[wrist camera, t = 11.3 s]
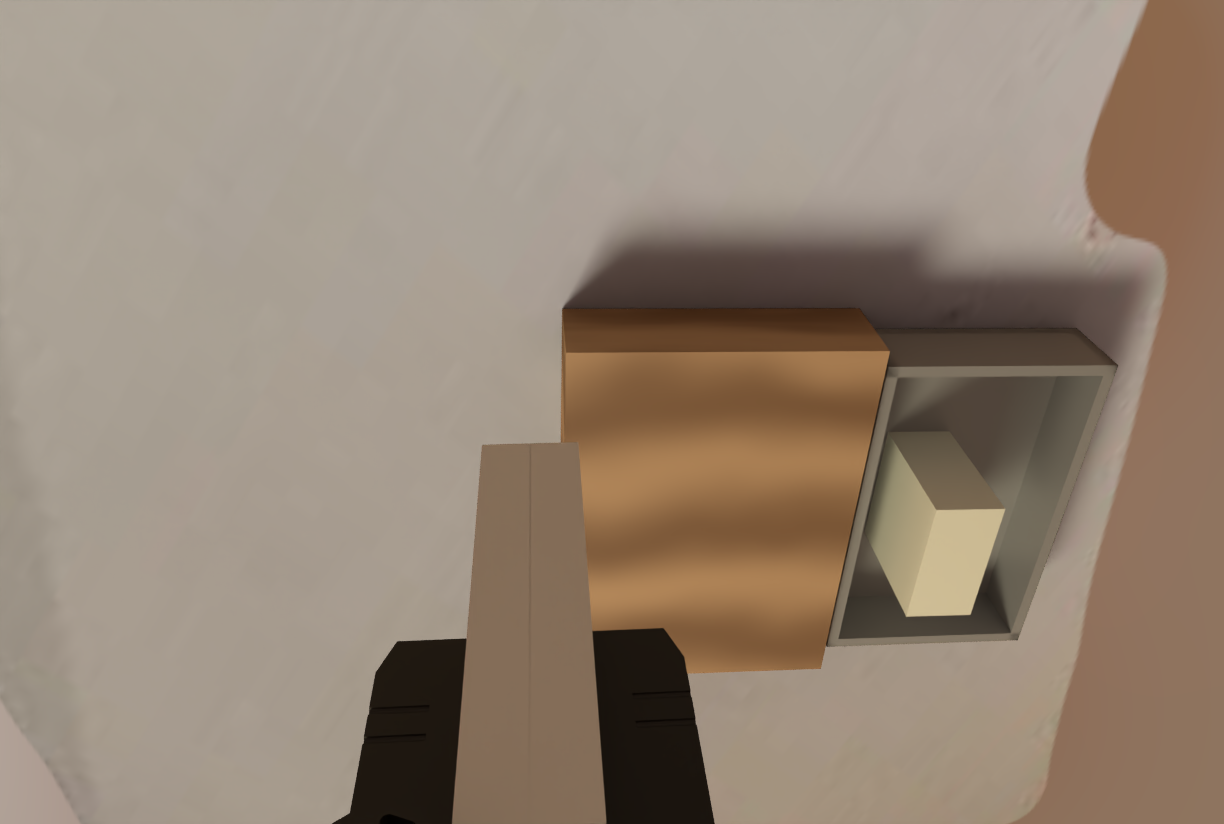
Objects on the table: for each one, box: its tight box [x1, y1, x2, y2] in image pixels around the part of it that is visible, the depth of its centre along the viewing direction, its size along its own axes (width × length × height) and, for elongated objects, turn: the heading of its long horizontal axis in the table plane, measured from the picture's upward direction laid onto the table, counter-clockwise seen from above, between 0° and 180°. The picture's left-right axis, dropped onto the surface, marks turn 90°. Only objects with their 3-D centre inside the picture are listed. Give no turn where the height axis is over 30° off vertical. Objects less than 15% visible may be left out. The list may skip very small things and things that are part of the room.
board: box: [561, 308, 890, 673], centre depth 43 cm, size 18×13×4 cm
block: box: [865, 431, 1005, 617], centre depth 43 cm, size 6×6×3 cm
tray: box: [826, 328, 1118, 647], centre depth 44 cm, size 16×10×4 cm, turn 178°
